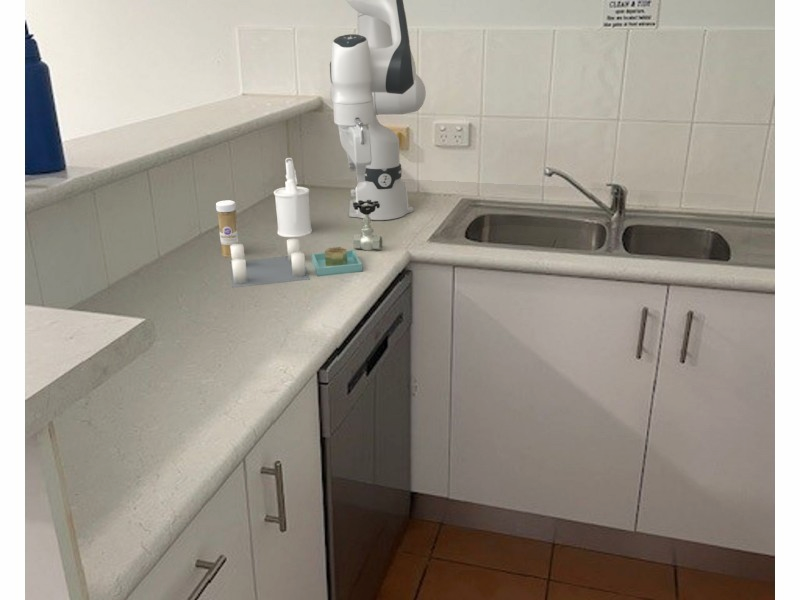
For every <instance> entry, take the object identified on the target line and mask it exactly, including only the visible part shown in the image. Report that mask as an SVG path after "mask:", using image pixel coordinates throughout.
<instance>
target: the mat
mask: <svg viewBox="0 0 800 600" xmlns="http://www.w3.org/2000/svg"><path fill="white" fill-rule="evenodd" d="M245 260H246V269H247V278H248V282H247V283H244V284H235V283H234V278H233V269H232V261H229V265H230V278H231V287H232V288H233V289H234V288H241V287H242V288H243V287H253V286H261V285H269V284H280V283H288V282H289V283H290V282H298V281H300V282H301V281H307V280H308V281H310V280H311V278H310V276H309V275H310V274H309V272H308V269H307V267H306V265H305V268H306V275H305V276H303V277H294V276H293V273H292V262H289V261H288V255H286V256H285V255H284V256H275V257H265V258H255V259H245Z"/></svg>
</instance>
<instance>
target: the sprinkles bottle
mask: <svg viewBox="0 0 800 600" xmlns="http://www.w3.org/2000/svg"><path fill="white" fill-rule="evenodd" d="M236 206H237V205H236V202H235V201H234V200H230V199H228V200H227V199H225V200H220V201H217V202H216V203H215V209H216V213H217V219H218V227H219V229H218V230H219V238H220V240H219V241H220V244H221V245H220V247H221V256H222V257H224V258H232V257H231V249H230V246H231V245H232V244H240V239H239V230H238V228H239V227H238V221H237V213H236V211H237V207H236Z"/></svg>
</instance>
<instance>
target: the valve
mask: <svg viewBox="0 0 800 600" xmlns="http://www.w3.org/2000/svg"><path fill="white" fill-rule="evenodd" d="M376 206H377V208H380V204H379V203H378V201H374V202H371V200H367V201H362V200H359V201H358V203H357V202H354V203H353V207H354V209H355V210H358V208H359V210H360V212H361V213H363V214H365V217H364V218H362V223H363V224H364V225H363V226H362V227H361V228H360V229H361V233H362V234H355V233H354V236H353V239H352V245H353V249H354V250H355V249H356V250H363V251H368V252H369V251H372V250H375V251H382V248H383V236H382V235H379V234H377V235H376V234H374V235H373V233H374V227H373V226H372V225H371V223H372V221H371V218H370V217H369V214H371V212H374V211H375V209H376Z"/></svg>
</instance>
